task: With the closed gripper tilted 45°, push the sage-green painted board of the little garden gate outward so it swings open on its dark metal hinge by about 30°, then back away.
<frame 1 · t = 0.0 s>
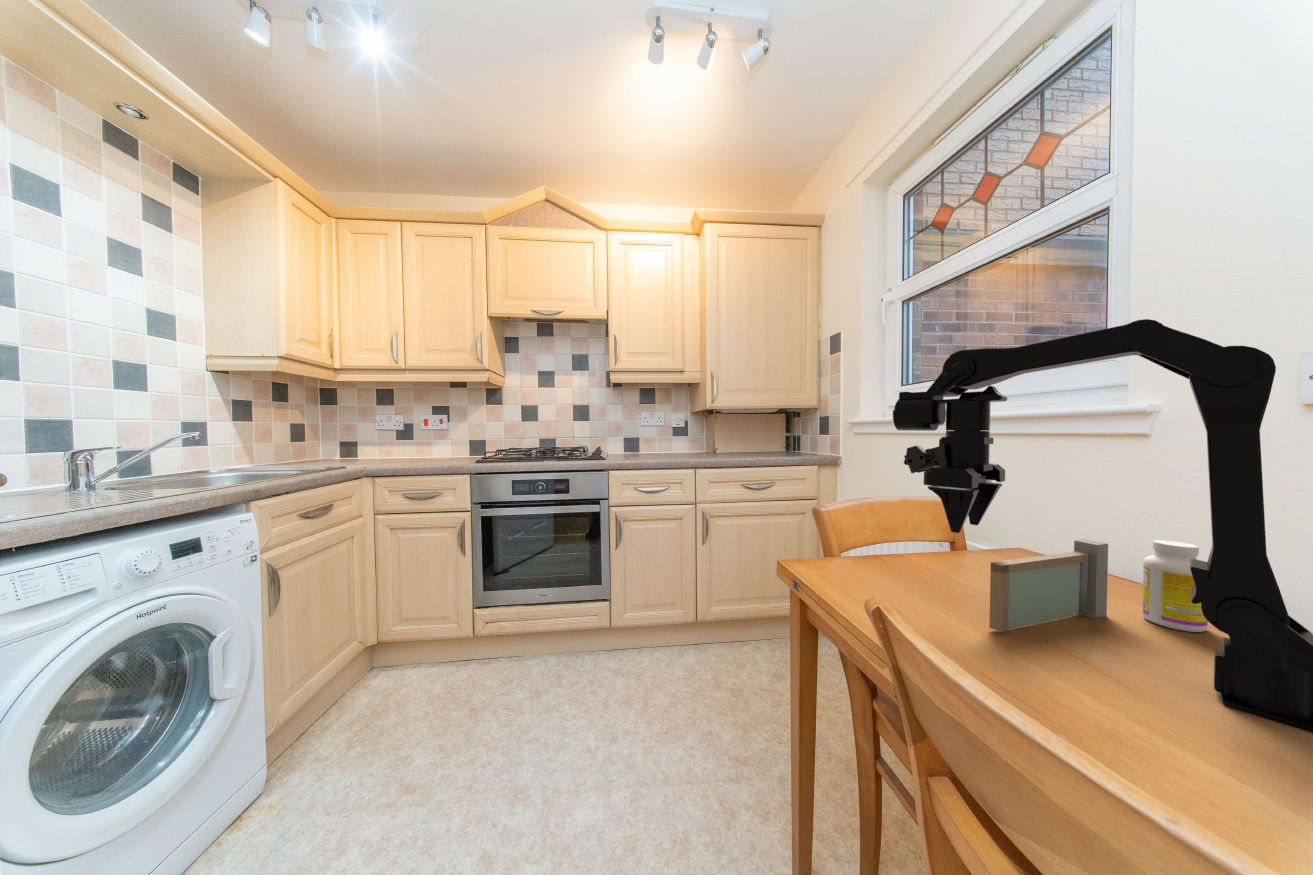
hand: (965, 528, 69), 15 cm above the table, tool pointing down, fingers open, 9 cm apart
gatepost: (1089, 613, 72), on the table
gate: (1041, 589, 68), point 5 cm above the table, hinge at 0.0°
supplement bottle: (1173, 625, 69), on the table
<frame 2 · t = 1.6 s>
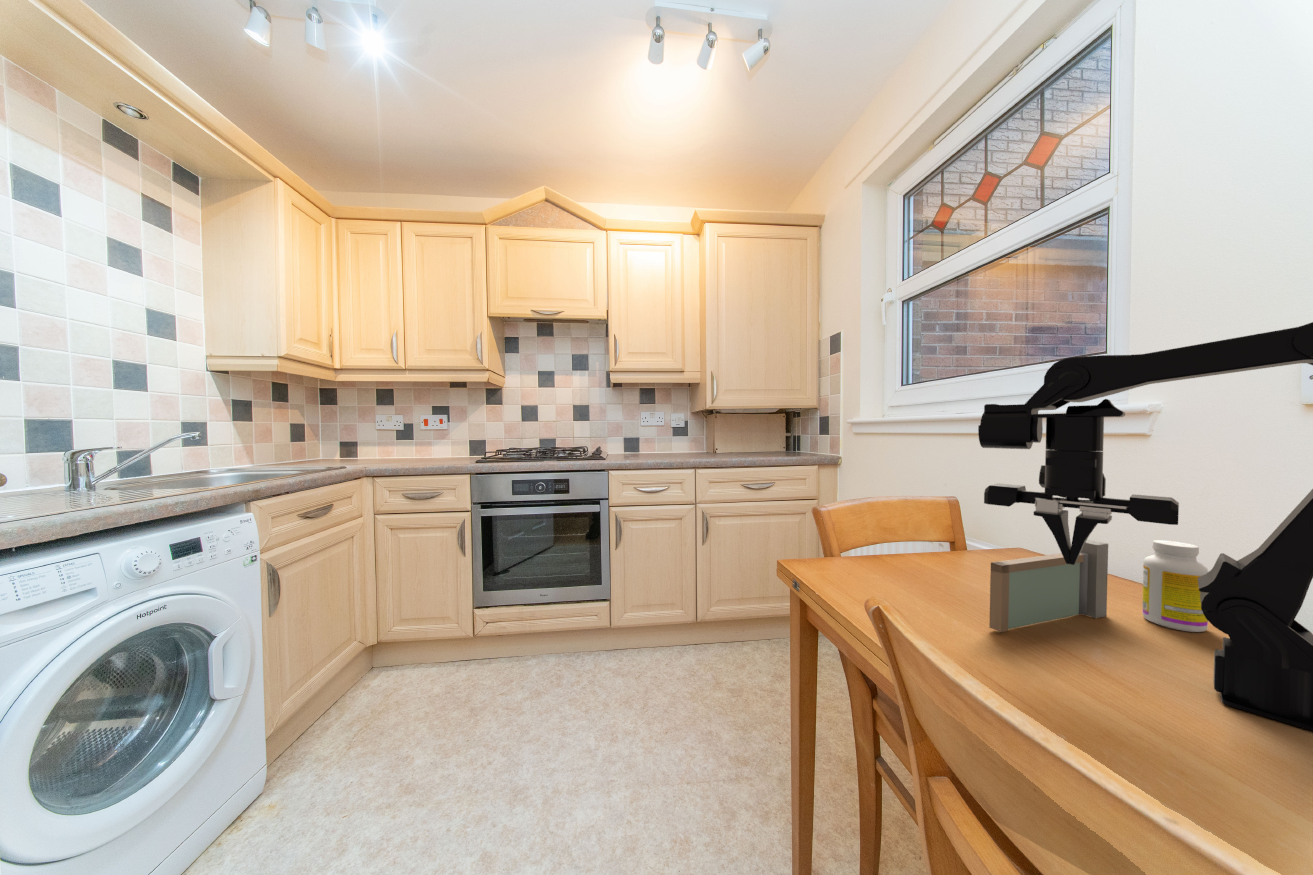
hand: (1070, 563, 60), 12 cm above the table, tool pointing down, fingers closed
nothing on the table moved.
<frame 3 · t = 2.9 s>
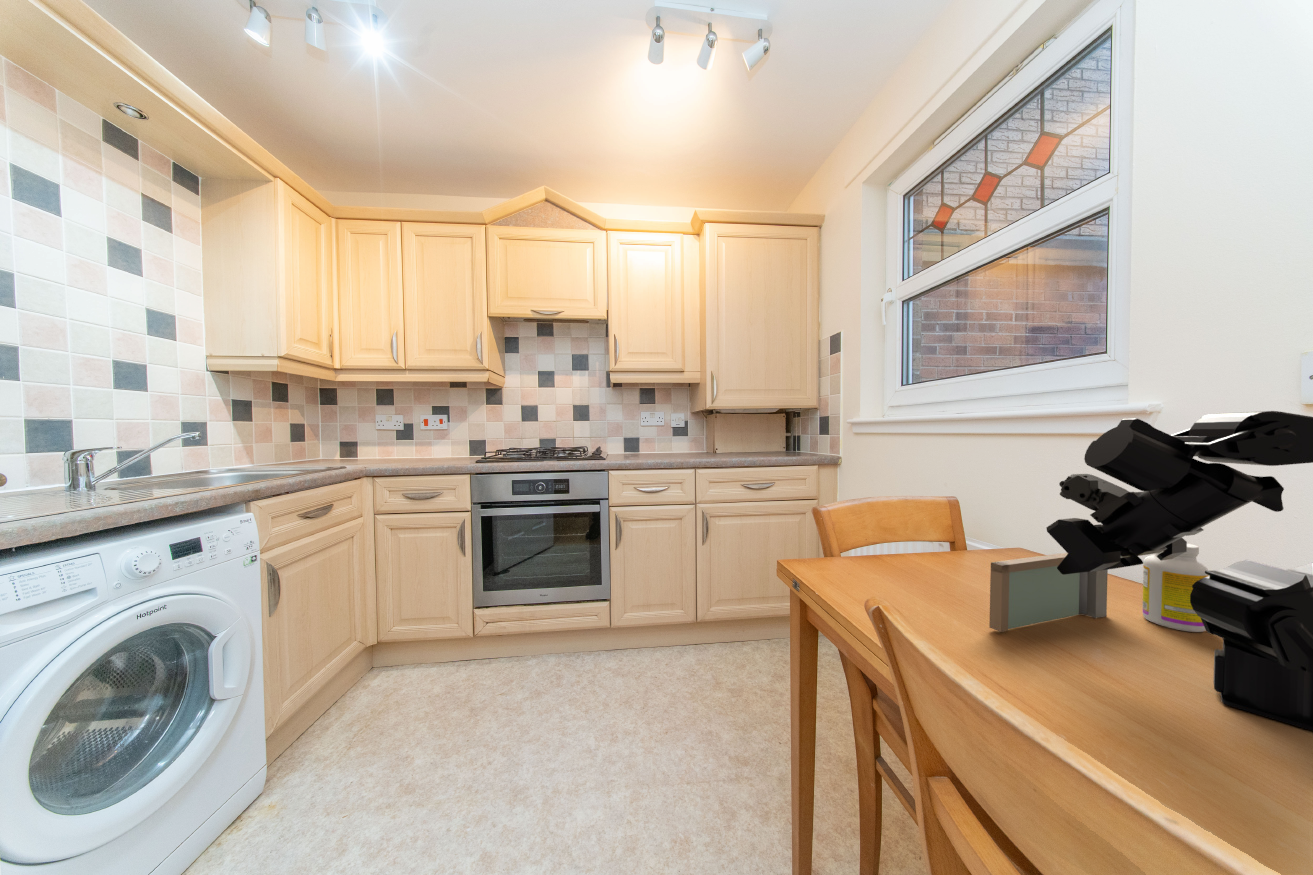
hand: (1061, 571, 61), 11 cm above the table, tool tilted 45°, fingers closed
nothing on the table moved.
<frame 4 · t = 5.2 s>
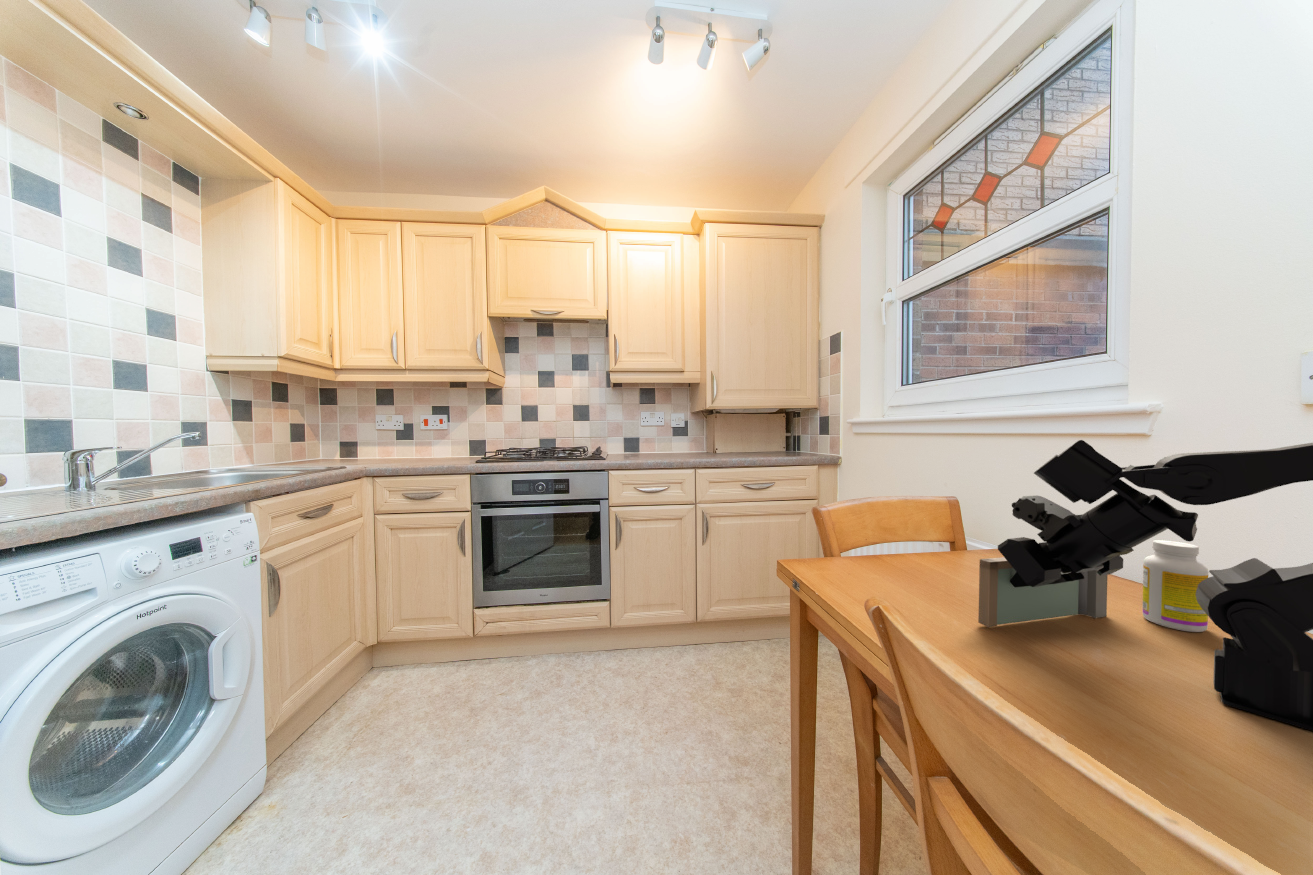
hand: (1013, 583, 67), 7 cm above the table, tool tilted 45°, fingers closed, pressing on gate
gate: (1035, 587, 69), point 5 cm above the table, hinge at 5.0°, touching gripper
everything else where it was.
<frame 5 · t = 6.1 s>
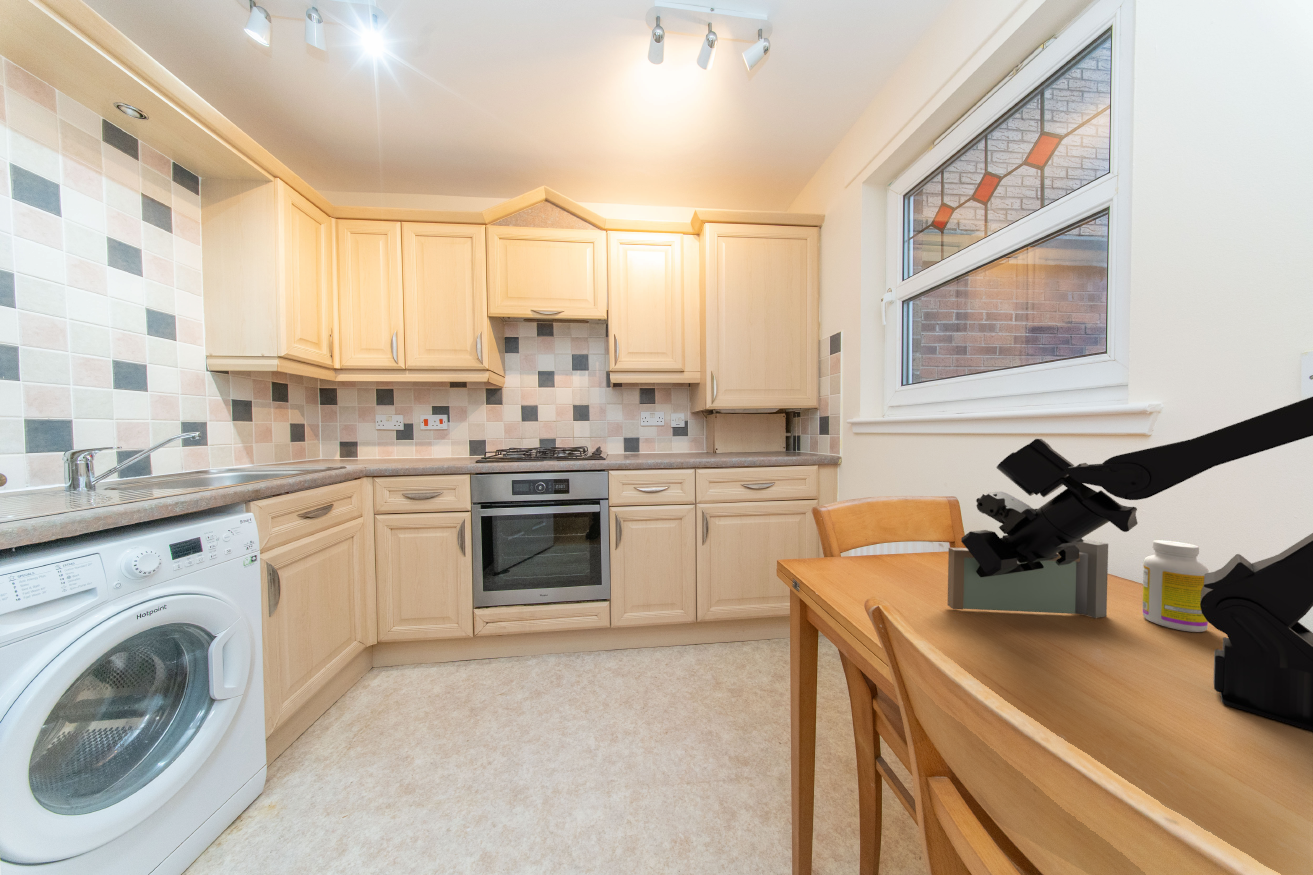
hand: (980, 574, 72), 7 cm above the table, tool tilted 45°, fingers closed
gate: (1017, 580, 72), point 5 cm above the table, hinge at 24.3°
everything else where it was.
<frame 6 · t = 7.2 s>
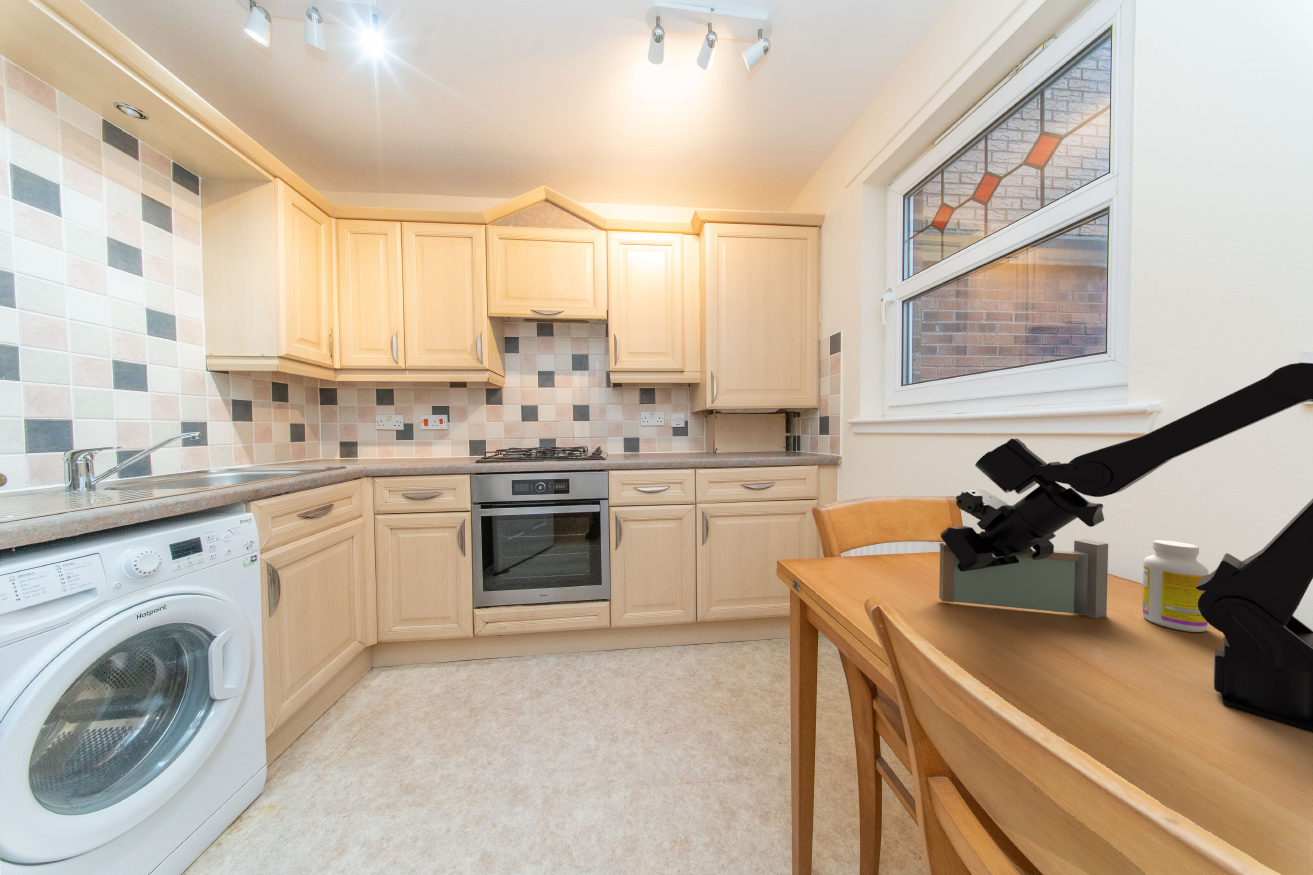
hand: (960, 568, 75), 6 cm above the table, tool tilted 45°, fingers closed
gate: (1011, 577, 74), point 5 cm above the table, hinge at 33.8°, touching gripper
everything else where it was.
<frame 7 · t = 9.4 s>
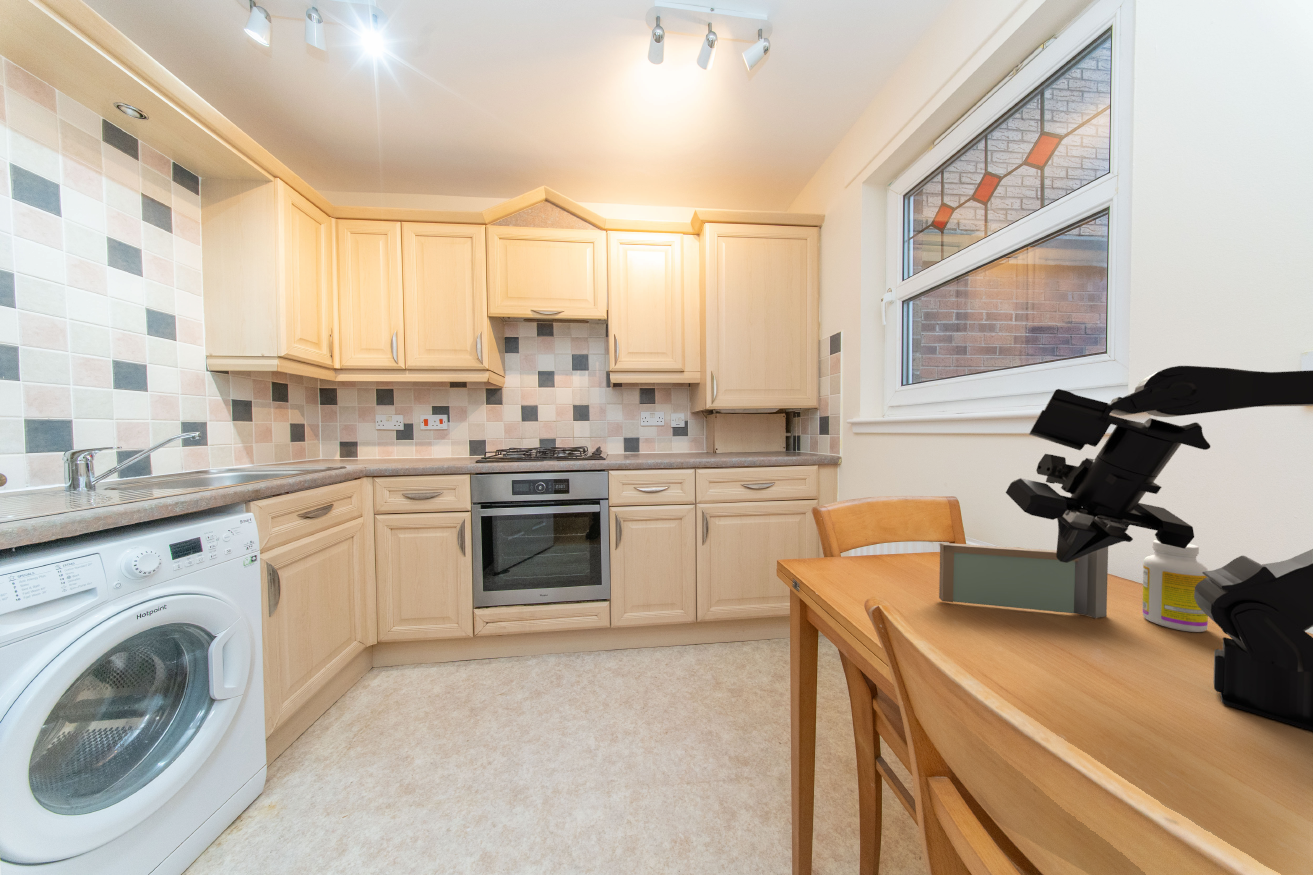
hand: (1061, 560, 61), 12 cm above the table, tool tilted 25°, fingers closed
gate: (1011, 577, 74), point 5 cm above the table, hinge at 33.9°
everything else where it was.
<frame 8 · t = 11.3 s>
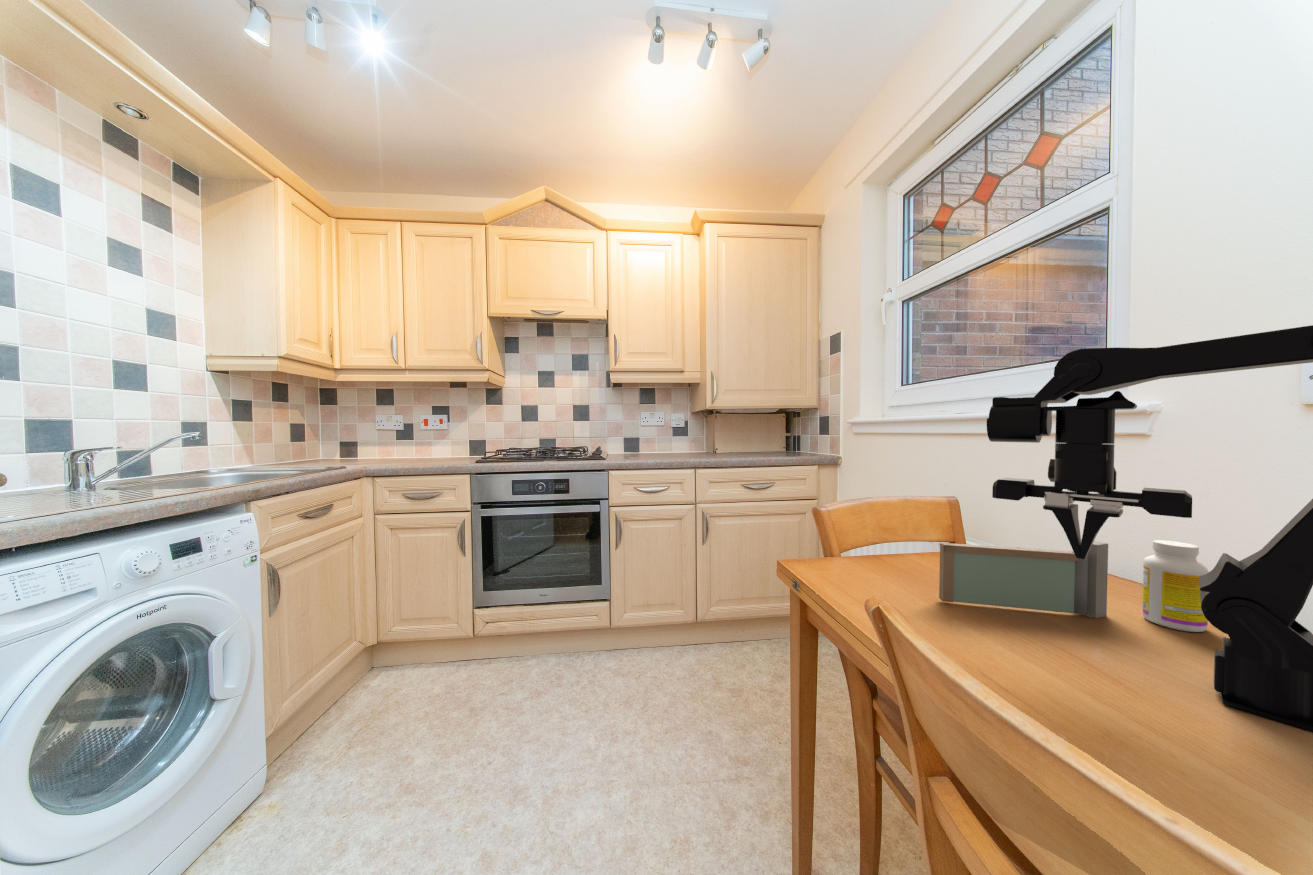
hand: (1080, 558, 59), 13 cm above the table, tool pointing down, fingers closed
nothing on the table moved.
at the end: gate at +34° (first picture: +0°); supplement bottle moved 0.2 cm from its start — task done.
